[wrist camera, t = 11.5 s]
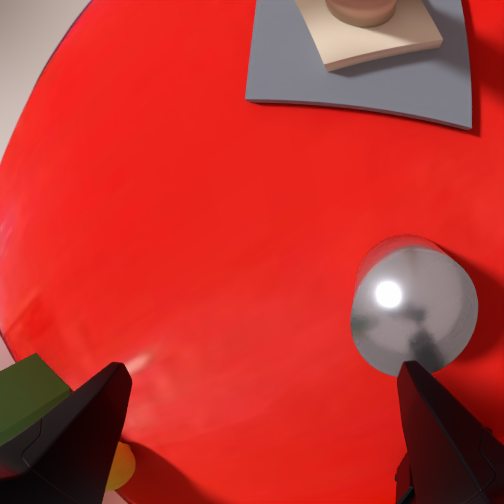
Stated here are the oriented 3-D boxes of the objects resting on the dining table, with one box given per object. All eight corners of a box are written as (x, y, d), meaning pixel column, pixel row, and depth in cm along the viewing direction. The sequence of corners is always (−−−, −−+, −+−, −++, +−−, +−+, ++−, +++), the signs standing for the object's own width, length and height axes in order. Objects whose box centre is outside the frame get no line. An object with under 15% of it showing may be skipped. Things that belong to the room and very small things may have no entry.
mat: (449, -35, 10) (450, -41, 10) (467, 130, 14) (471, 128, 13) (267, -49, 14) (264, -54, 14) (249, 102, 18) (245, 99, 17)
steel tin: (462, 244, 15) (493, 264, 10) (436, 339, 16) (452, 384, 12) (365, 225, 17) (365, 239, 12) (346, 323, 18) (337, 365, 14)
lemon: (105, 422, 30) (60, 457, 23) (139, 435, 28) (93, 478, 21) (120, 454, 31) (81, 489, 23) (154, 467, 29) (115, 509, 21)
